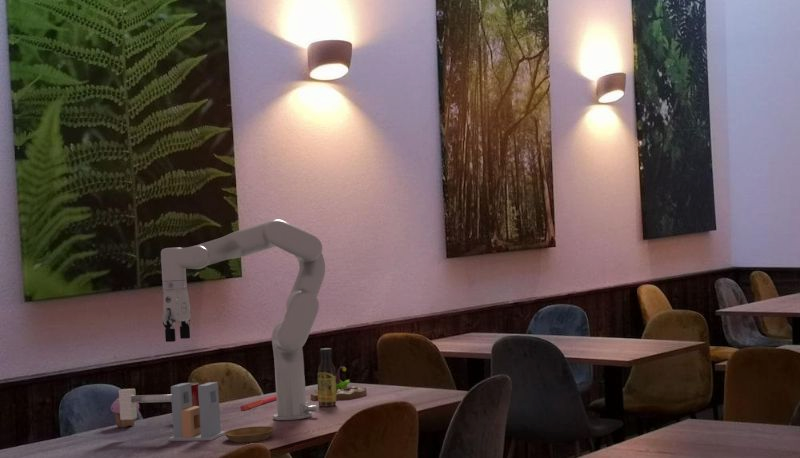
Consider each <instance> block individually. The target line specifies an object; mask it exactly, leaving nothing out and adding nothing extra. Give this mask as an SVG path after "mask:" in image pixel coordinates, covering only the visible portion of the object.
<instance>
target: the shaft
mask: <svg viewBox="0 0 800 458" xmlns="http://www.w3.org/2000/svg"><path fill="white" fill-rule="evenodd" d="M136 394H137V393H136V388H122V389H119V390H118V398H119V404H120V420H132V419H135V420H136V419H137V418H138V413H137V412H138V410H137V409H136V403H138V404H139V403H141V404H142V403H172V399H171V394H141V395H139V394H138V395H136ZM183 401H185V395H184V394H183Z"/></svg>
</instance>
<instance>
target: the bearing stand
mask: <svg viewBox="0 0 800 458" xmlns="http://www.w3.org/2000/svg"><path fill="white" fill-rule="evenodd" d="M191 383H192V382H182V383H178V384H175V385H172V386H170V395H171V399H172V402H171V411H172V413H171V415H172V428H173V436H171V437H168V442H175V441H176V442H178V441H179V442H180V441H181V442H187V441H189V442H192V441H213V440H215V439H218V438H220V437H223V436H225V434H224V433H225V432H227V430H225V431H223V430H221V427H222V426H221V416H220V415H221V414H220V413H221V412H220V399H219V397H220V396H219V382H218V381H214V382H211V381H209V382H205V383H203V384H198V385H199V386H198V395H199V412H200V428H201V434H199V435H196V436H194V437H183V434H182V418H181V410H184V409H187V408H190V407H192V393H191ZM183 394H184V395H185V401H183Z"/></svg>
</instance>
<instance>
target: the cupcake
mask: <svg viewBox="0 0 800 458" xmlns="http://www.w3.org/2000/svg"><path fill="white" fill-rule="evenodd" d="M136 409H137V411H138V410H139V409H140V404H139V403H136ZM110 410H111V411H112V412H113V413H114V417H115V425H116V426H117V428H126V427H129V426H130V427H131V426H134V425H135V422H136V418H135V419H132V420H120V404H119V397H118V398H117V399H115V400H114V401H113V403H112V404H111V406H110Z"/></svg>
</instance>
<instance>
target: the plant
mask: <svg viewBox="0 0 800 458" xmlns="http://www.w3.org/2000/svg"><path fill="white" fill-rule="evenodd" d="M341 370H342V372H346V371H347V368H346V367H345V366H340V367H338V369H337V370H336V374H335V376H336V401H346V400H352V399H353V400H354V399H358V398H359V399H360V398H363V397H365V396H367V387H361V386H356V385H350V386H348V384H349V383H350V382H351V381H350V379H346V380H344V381H342V380H341V379H340V378H341V377H340V371H341ZM309 397H310V399H311V400H312V401H315V402H316V401H317V402H319V401H318V389H316V390H314V391H313V392H312V393H310V395H309Z"/></svg>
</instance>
